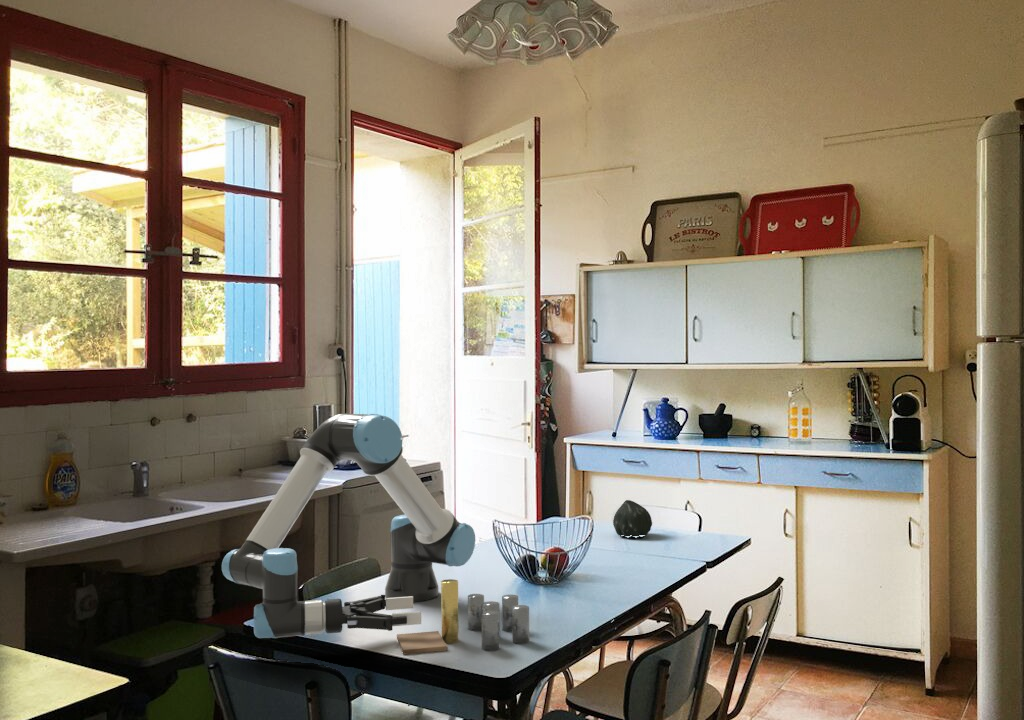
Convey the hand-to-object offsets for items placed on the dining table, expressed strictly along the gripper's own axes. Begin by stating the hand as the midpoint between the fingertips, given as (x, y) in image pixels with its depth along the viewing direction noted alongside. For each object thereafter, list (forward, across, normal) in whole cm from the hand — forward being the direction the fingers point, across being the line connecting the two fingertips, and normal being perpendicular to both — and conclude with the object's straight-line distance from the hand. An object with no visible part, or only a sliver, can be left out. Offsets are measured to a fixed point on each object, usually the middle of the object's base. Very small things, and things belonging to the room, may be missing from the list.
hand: (417, 609), depth 205 cm
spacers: (+20, 0, -8) cm, 21 cm away
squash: (+98, -107, -8) cm, 145 cm away
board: (+1, +1, -8) cm, 8 cm away
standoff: (+8, 0, -8) cm, 11 cm away
